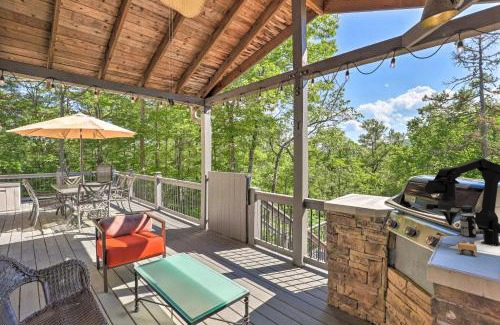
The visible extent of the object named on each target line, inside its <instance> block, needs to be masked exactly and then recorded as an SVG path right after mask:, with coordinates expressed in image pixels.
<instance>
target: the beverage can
mask: <svg viewBox="0 0 500 325" xmlns="http://www.w3.org/2000/svg"><path fill="white" fill-rule="evenodd" d="M474 219H475V214H474V213H460V216H459V224H460V235H461V236H462V237H465V238H473V239H474V238H476V237H477V225H476V223H475V220H474Z"/></svg>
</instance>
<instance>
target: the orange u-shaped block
mask: <svg viewBox="0 0 500 325" xmlns="http://www.w3.org/2000/svg"><path fill="white" fill-rule="evenodd" d="M456 245H457V254H458V255H460V254H461V250H462V249H465V250H473V251H474V256H475V257H478V250H477V244H469V243H467V242H466V243H461V242H457V244H456Z"/></svg>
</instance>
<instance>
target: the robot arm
mask: <svg viewBox="0 0 500 325" xmlns="http://www.w3.org/2000/svg"><path fill="white" fill-rule="evenodd" d="M476 169H477V171H478V172H480V173H481V177H482V179H483V181H484V185H483V195H482V202H481V209H480V211H476V207H475V205H466V204H464V205H462V206H458V202H457V197H458V196H457V187H456V185H459V184H460V181H458V180H457V179H458V178H459V177H461V175H463V174H465V173H468V172H471V171H474V170H476ZM499 183H500V164H498V163H496V162H493V161H490V160H487V159H486V158H482V157H481V158H474V159H472V160H469V161H467V162H464V163H460V164H458V165H455V166H448V167H441V168H439V169H438V172H437V174H436V175H435V177H434V178H433V180H431V179H429V180H427V183H426V184H425V187H424V190H425V193H426V194H428V195H439V194H440V199H439V201H438V202H437V203H436V202H428V203H426V205H425V209H426V210H432V211H433V210H434V209H437V210H439V211H438V212H439V213H441V214H443V216H444V217H445V218H444V219H446V222H447V224H448V225H449V226H453V223H454V220H455V219H456V216H457V215H458V214H459V213H460V214H461V212H462V213H463V214H474V217H475V219H474V220H475V223H476V228H477V229H478V230H480V231H482V236H483V240H482V241H481V242H480V244H484V245H489V246H495V247H496V246H500V235H499V234H500V222H499V216H498V215H497V212H496V205H497V204H496V203H497V196H498V189H499V188H498V187H499Z"/></svg>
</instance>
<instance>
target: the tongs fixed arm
mask: <svg viewBox="0 0 500 325" xmlns="http://www.w3.org/2000/svg"><path fill="white" fill-rule="evenodd" d="M468 244H475V241H472V240H468ZM475 245H476V244H475ZM461 255H463V256H467V257H472V256H474V255H475V251H473V250H465V249H461Z"/></svg>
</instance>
